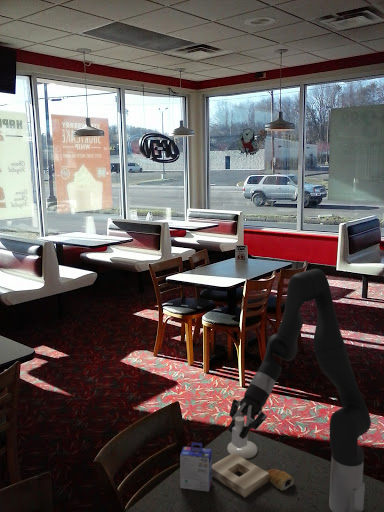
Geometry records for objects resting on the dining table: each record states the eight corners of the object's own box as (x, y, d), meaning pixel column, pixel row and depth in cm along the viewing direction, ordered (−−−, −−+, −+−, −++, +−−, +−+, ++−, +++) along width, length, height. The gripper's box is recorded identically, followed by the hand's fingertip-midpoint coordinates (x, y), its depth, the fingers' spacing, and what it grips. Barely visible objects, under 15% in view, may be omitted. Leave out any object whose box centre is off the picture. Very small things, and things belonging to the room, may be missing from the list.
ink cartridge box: (212, 481, 165) (212, 442, 162) (209, 492, 160) (209, 451, 157) (183, 478, 167) (183, 439, 164) (179, 488, 162) (179, 448, 159)
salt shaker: (239, 449, 162) (239, 423, 160) (231, 444, 165) (231, 418, 163) (248, 445, 164) (248, 419, 162) (240, 440, 167) (240, 414, 165)
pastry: (261, 478, 167) (261, 468, 166) (275, 470, 171) (275, 460, 170) (282, 493, 160) (282, 482, 159) (296, 484, 163) (296, 474, 163)
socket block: (268, 481, 165) (268, 473, 164) (244, 497, 157) (244, 489, 156) (233, 460, 177) (233, 452, 176) (209, 474, 169) (209, 466, 168)
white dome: (263, 450, 182) (263, 448, 182) (243, 462, 175) (243, 460, 175) (241, 438, 190) (241, 436, 190) (221, 449, 183) (221, 447, 183)
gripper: (239, 377, 171) (214, 422, 165) (271, 391, 161) (246, 439, 155) (249, 386, 175) (225, 430, 170) (281, 400, 165) (257, 447, 159)
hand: (235, 434), depth 162 cm, fingers closed on salt shaker, 4 cm apart
